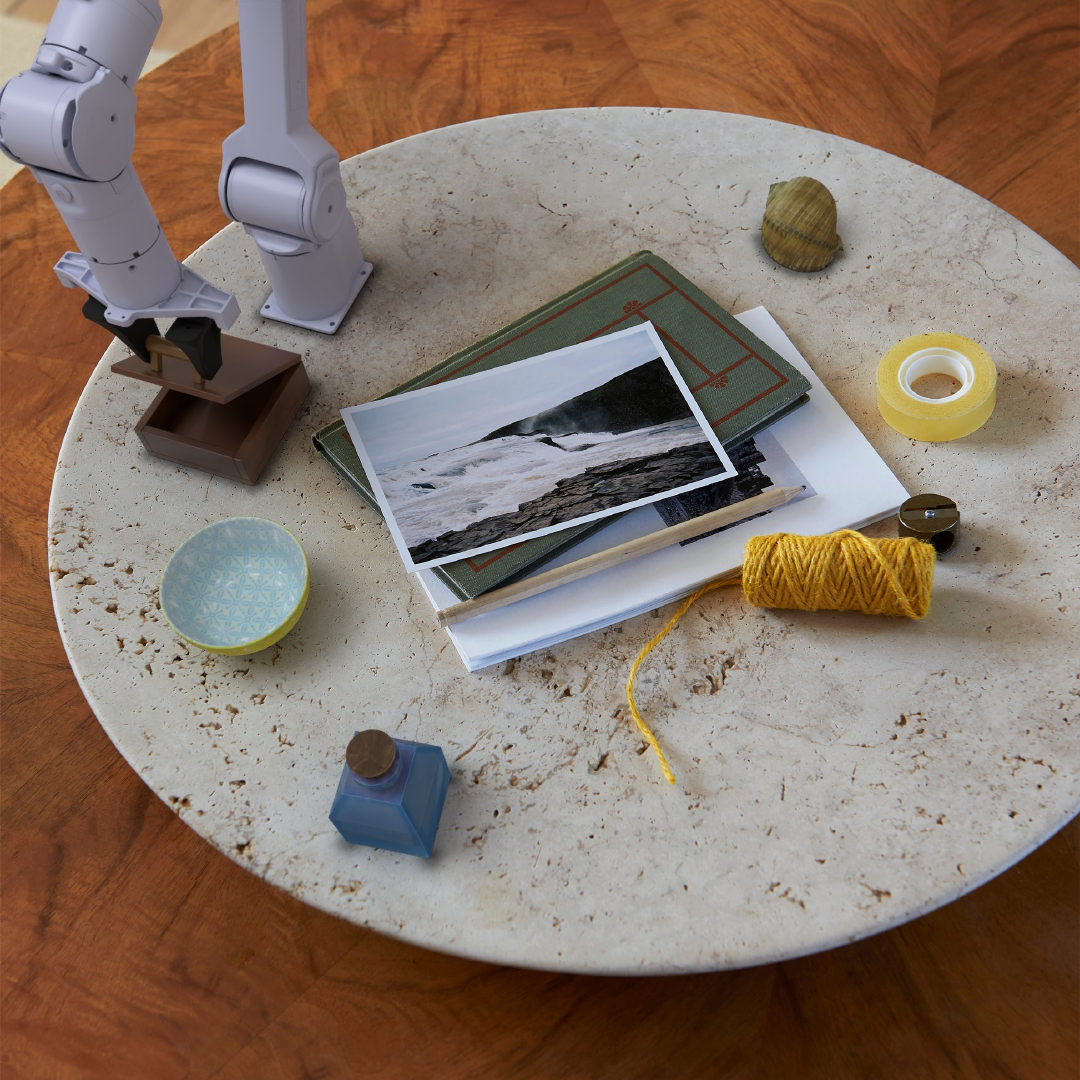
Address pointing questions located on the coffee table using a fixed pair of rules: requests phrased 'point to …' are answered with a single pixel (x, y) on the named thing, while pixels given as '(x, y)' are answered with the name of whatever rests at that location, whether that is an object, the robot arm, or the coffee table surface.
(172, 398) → the box
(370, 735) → the perfume bottle
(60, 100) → the robot arm
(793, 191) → the seashell
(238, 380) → the lid
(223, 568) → the bowl
